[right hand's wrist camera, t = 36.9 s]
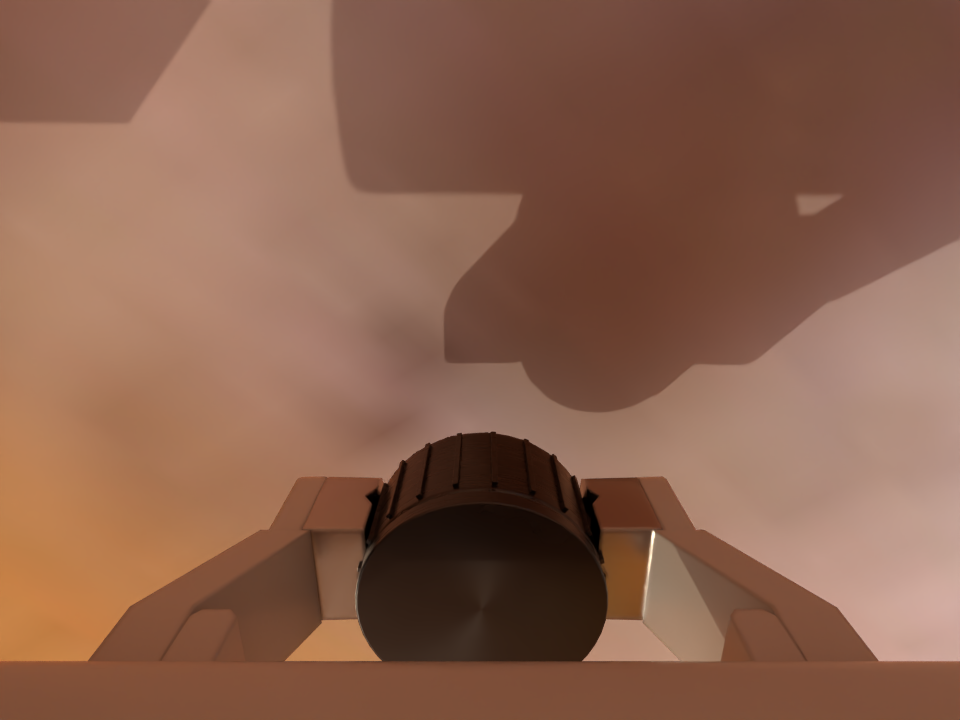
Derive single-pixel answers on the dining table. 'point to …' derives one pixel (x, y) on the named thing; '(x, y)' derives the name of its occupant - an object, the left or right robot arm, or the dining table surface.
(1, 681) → the right robot arm
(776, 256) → the dining table surface
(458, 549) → the cap
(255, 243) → the dining table surface
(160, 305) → the dining table surface
